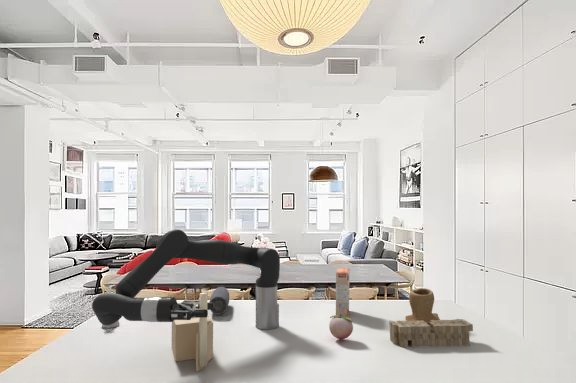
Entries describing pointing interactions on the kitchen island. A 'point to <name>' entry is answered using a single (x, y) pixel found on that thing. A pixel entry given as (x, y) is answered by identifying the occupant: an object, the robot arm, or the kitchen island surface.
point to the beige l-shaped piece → (204, 338)
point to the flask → (111, 325)
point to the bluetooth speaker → (219, 300)
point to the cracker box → (342, 292)
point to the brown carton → (185, 338)
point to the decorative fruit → (340, 327)
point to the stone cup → (422, 305)
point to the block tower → (430, 333)
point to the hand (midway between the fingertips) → (210, 309)
